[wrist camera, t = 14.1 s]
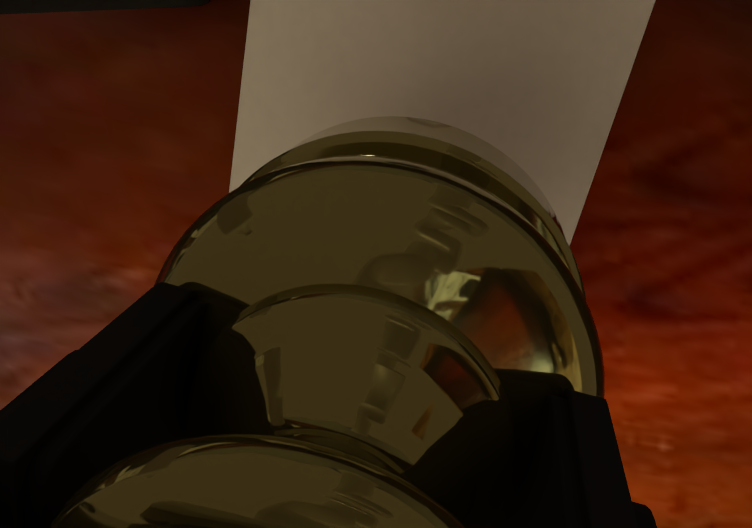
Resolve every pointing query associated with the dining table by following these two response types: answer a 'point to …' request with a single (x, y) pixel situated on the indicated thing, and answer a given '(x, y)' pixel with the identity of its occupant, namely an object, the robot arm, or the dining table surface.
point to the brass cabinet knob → (363, 342)
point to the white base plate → (445, 78)
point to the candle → (88, 5)
